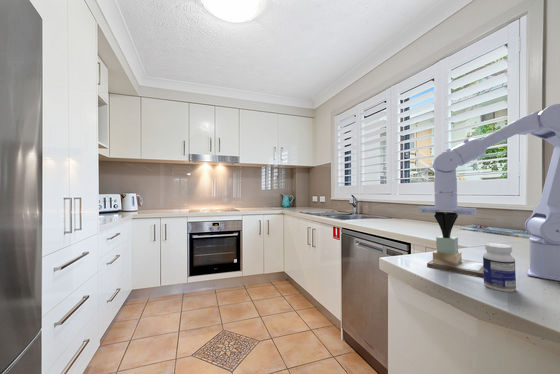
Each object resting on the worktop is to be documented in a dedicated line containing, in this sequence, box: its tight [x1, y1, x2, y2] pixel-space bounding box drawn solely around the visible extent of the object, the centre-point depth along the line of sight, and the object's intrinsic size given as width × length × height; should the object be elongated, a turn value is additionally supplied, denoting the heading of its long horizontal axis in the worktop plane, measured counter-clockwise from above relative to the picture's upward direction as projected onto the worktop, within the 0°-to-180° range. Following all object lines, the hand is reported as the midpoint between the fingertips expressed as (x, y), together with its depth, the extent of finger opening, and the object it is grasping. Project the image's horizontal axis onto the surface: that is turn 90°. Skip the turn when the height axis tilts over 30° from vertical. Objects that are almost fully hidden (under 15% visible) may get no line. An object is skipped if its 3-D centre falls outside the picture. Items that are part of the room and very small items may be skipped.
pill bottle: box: [482, 242, 517, 293], centre depth 58 cm, size 6×6×10 cm
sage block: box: [435, 234, 459, 255], centre depth 75 cm, size 4×4×4 cm
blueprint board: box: [426, 249, 484, 278], centre depth 74 cm, size 14×12×4 cm
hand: (446, 237), depth 75 cm, fingers closed, pressing on sage block
